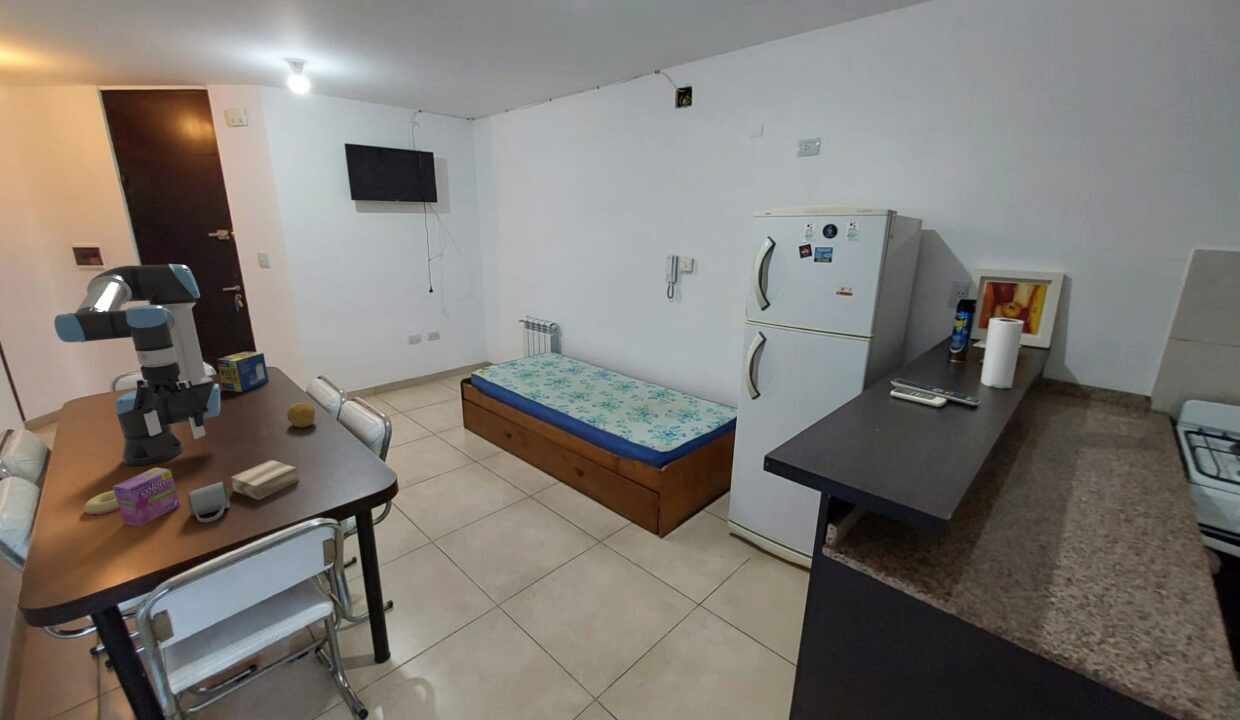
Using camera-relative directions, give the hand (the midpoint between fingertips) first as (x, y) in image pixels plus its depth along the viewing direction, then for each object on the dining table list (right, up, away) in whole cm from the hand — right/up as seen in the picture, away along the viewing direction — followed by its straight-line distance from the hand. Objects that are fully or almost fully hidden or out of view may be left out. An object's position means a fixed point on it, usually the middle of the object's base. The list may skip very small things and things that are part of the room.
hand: (177, 435), depth 135 cm
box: (-6, -22, -1) cm, 23 cm away
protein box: (-58, +8, +99) cm, 115 cm away
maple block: (+14, -18, +15) cm, 28 cm away
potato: (-3, -5, +58) cm, 58 cm away
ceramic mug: (+9, -22, +1) cm, 24 cm away
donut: (-22, -21, +3) cm, 31 cm away
